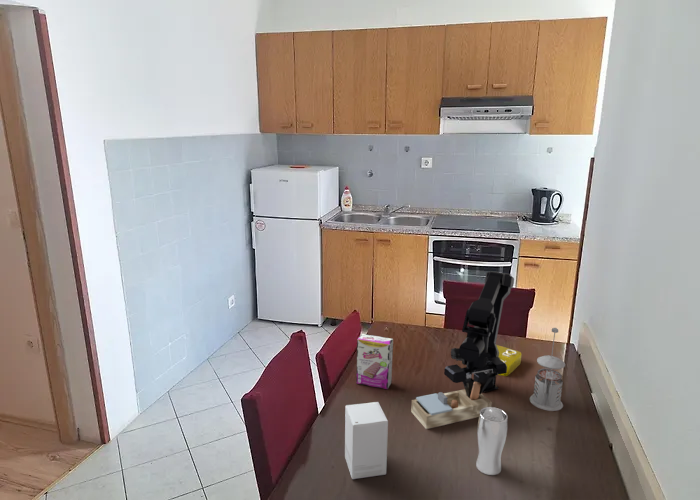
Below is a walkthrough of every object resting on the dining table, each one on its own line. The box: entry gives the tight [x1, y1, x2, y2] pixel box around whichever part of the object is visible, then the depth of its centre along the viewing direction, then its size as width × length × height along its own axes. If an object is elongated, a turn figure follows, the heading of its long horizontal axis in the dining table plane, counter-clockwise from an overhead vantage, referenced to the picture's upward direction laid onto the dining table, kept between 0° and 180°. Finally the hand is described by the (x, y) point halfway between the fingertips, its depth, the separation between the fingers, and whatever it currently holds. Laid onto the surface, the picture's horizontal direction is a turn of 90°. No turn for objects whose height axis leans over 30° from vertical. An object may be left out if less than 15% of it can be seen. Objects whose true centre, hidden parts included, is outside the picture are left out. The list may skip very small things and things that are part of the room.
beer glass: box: [475, 406, 509, 476], centre depth 117 cm, size 7×7×15 cm
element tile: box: [496, 344, 522, 377], centre depth 173 cm, size 15×15×5 cm
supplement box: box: [344, 401, 389, 480], centre depth 117 cm, size 9×9×15 cm
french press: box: [529, 327, 566, 412], centre depth 144 cm, size 10×12×25 cm
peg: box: [470, 382, 481, 400], centre depth 143 cm, size 2×2×7 cm
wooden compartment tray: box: [410, 388, 493, 430], centre depth 141 cm, size 22×9×4 cm, turn 111°
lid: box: [415, 391, 452, 415], centre depth 138 cm, size 7×9×3 cm
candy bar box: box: [355, 333, 394, 390], centre depth 156 cm, size 11×5×16 cm, turn 71°
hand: (473, 394), depth 143 cm, fingers open, 4 cm apart
